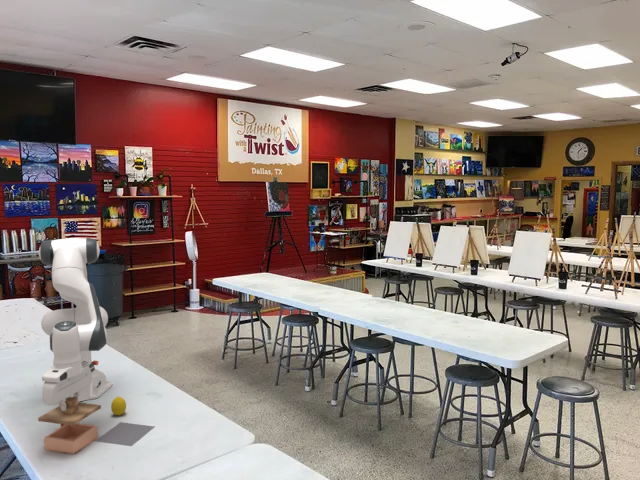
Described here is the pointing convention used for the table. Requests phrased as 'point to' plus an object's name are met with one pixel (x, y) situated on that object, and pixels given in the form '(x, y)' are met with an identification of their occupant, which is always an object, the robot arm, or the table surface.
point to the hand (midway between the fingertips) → (69, 406)
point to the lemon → (118, 406)
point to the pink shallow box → (71, 438)
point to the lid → (70, 412)
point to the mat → (125, 434)
